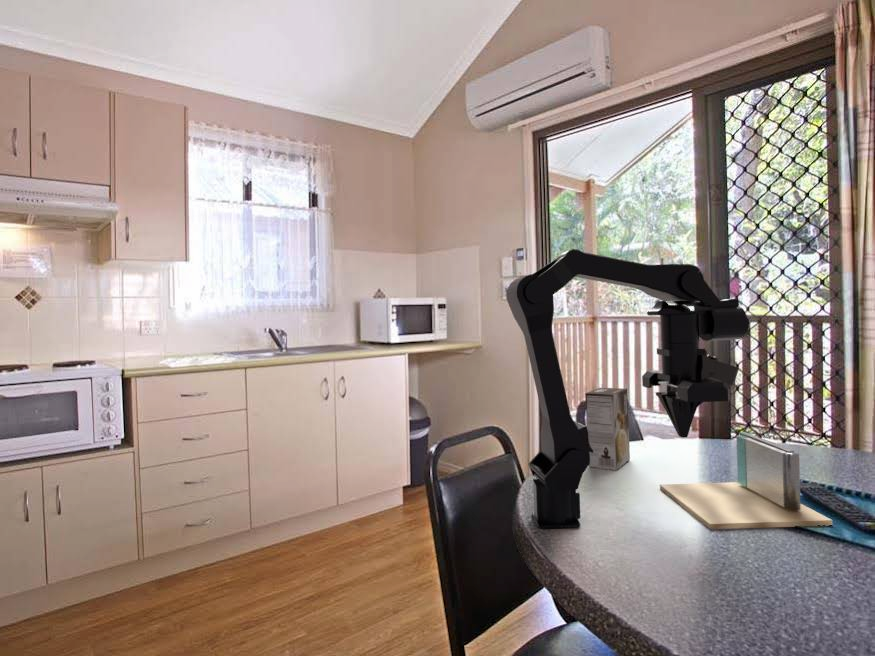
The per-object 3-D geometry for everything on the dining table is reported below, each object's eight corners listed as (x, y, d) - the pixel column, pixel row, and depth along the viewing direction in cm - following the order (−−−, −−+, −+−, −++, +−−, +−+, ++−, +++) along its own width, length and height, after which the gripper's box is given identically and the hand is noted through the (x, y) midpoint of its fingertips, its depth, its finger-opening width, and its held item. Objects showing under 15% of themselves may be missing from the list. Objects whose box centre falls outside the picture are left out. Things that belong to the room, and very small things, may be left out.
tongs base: (710, 529, 76) (708, 464, 76) (658, 487, 95) (656, 435, 95) (832, 525, 76) (830, 460, 75) (755, 484, 95) (754, 431, 94)
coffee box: (602, 456, 117) (599, 386, 116) (630, 460, 113) (628, 388, 113) (587, 466, 109) (584, 392, 109) (617, 471, 106) (614, 394, 105)
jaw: (789, 510, 79) (787, 455, 79) (737, 482, 92) (736, 435, 92) (803, 510, 79) (801, 454, 79) (749, 482, 92) (748, 435, 92)
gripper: (765, 343, 74) (768, 449, 74) (701, 338, 93) (704, 423, 93) (687, 346, 74) (691, 452, 75) (639, 340, 93) (642, 425, 93)
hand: (683, 436), depth 84 cm, fingers closed
